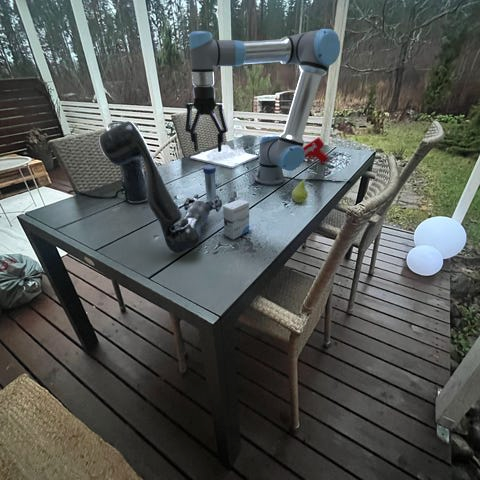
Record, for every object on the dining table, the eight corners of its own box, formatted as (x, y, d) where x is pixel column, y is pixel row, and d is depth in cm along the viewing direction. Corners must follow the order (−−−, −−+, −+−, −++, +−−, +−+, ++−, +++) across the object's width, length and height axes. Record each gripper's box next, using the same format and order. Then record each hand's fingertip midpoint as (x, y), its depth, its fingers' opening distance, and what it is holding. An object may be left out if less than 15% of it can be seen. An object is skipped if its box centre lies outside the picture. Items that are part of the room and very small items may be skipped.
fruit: (288, 200, 123) (290, 174, 116) (302, 197, 125) (305, 172, 119) (296, 206, 118) (299, 179, 111) (310, 203, 120) (314, 177, 114)
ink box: (240, 226, 103) (240, 197, 97) (249, 231, 100) (250, 202, 94) (223, 234, 98) (222, 205, 92) (232, 240, 95) (232, 209, 89)
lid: (210, 174, 110) (210, 170, 109) (200, 172, 113) (200, 168, 112) (218, 171, 114) (217, 166, 113) (208, 169, 116) (207, 164, 115)
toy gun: (331, 157, 168) (319, 136, 164) (331, 159, 164) (318, 137, 160) (306, 172, 178) (294, 153, 174) (305, 174, 174) (292, 154, 170)
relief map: (232, 168, 162) (231, 159, 159) (190, 158, 179) (189, 150, 177) (257, 157, 180) (257, 149, 177) (217, 149, 198) (217, 142, 195)
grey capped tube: (212, 206, 119) (210, 170, 110) (204, 204, 121) (201, 168, 112) (218, 202, 122) (216, 167, 113) (210, 200, 124) (208, 166, 115)
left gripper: (215, 206, 96) (223, 189, 109) (176, 204, 97) (189, 187, 111) (216, 225, 100) (224, 205, 113) (179, 222, 102) (191, 204, 115)
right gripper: (235, 85, 98) (236, 149, 110) (177, 85, 101) (184, 147, 113) (231, 86, 92) (233, 154, 104) (170, 86, 95) (179, 152, 107)
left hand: (207, 196), depth 112 cm, fingers open, 8 cm apart
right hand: (208, 150), depth 109 cm, fingers open, 9 cm apart
